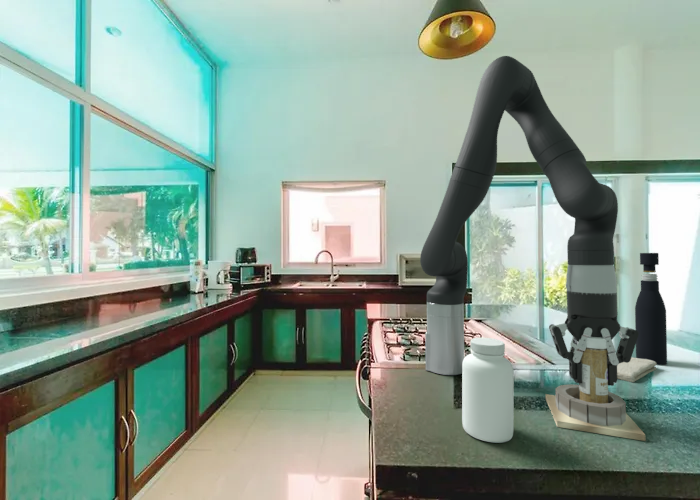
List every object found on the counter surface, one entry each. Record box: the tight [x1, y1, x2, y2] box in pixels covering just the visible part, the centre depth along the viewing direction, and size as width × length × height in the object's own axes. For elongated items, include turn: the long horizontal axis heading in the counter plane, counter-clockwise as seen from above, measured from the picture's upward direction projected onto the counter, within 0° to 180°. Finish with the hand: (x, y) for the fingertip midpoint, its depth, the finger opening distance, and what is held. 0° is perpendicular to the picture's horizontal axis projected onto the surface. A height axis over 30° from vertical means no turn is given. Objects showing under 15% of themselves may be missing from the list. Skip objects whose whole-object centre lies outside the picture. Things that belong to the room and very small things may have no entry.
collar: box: [545, 384, 646, 442], centre depth 61 cm, size 12×12×4 cm
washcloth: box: [617, 356, 657, 383], centre depth 87 cm, size 12×18×3 cm, turn 125°
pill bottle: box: [461, 337, 515, 444], centre depth 56 cm, size 8×8×15 cm
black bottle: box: [634, 252, 668, 366], centre depth 93 cm, size 6×6×30 cm
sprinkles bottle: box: [577, 337, 609, 404], centre depth 61 cm, size 5×5×13 cm
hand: (593, 382), depth 61 cm, fingers open, 4 cm apart
